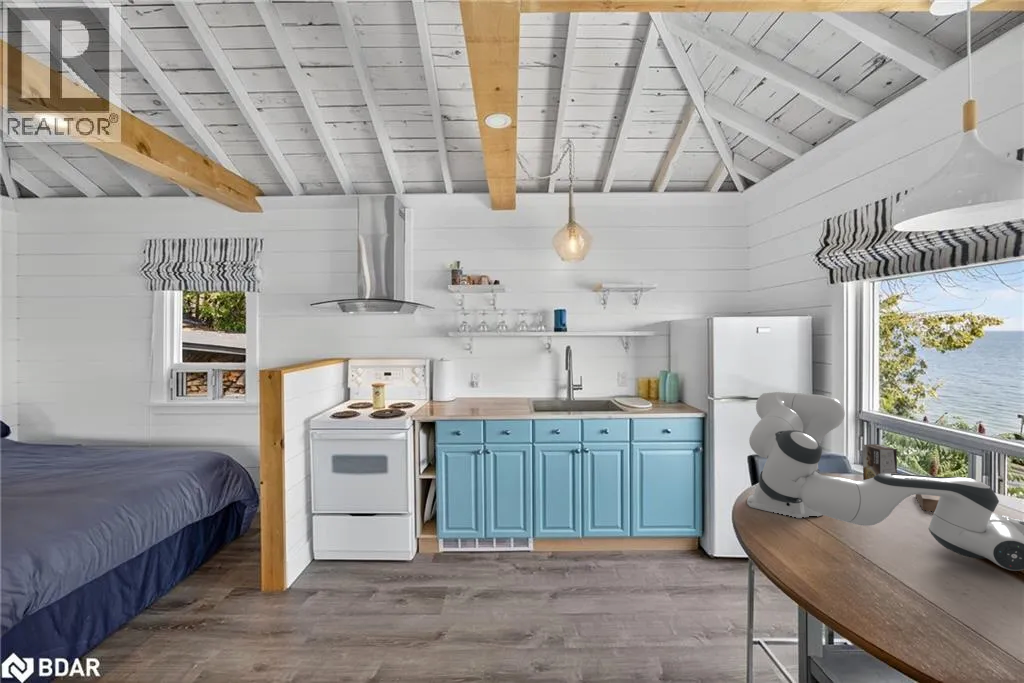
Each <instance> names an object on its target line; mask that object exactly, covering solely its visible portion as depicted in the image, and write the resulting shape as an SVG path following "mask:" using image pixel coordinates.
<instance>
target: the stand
mask: <svg viewBox="0 0 1024 683" xmlns="http://www.w3.org/2000/svg"><path fill="white" fill-rule="evenodd" d="M915 498H916V500H917V501H918V503H919V506H920V508H921V509H922V511H925V510H926V511H927V512H931V511H934V512H935V510H936V507H937V504H938V501H939V498H940V496H933V495H921V494H915ZM934 512H933V513H934Z"/></svg>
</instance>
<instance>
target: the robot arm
mask: <svg viewBox="0 0 1024 683" xmlns="http://www.w3.org/2000/svg"><path fill="white" fill-rule="evenodd" d="M755 410H756V414H757V415H758V417H759V419H760V420H759V421H758V422H757V423H756V425H755V426H754V428H753V429H752V431H751V433H750V436H749V438H748V440H749V442H748V443H749V446H750V448H751V450H752V451H753V452H754V453H755V454H756V455H757V456H759V457H761V458H763V459H766V461H765V463H764V466H763V469H762V471H761V472H760V473H759V479H758V483H757V484H756V486H755V488H754V492H753V493H752V494H750V495H749V496H748V497H747V500H746V503H747V504H746V505H747V506H748V507H749V508H753V509H756V510H761V511H764V512H769V513H773V512H774V514H777V513H779V514H778V515H781V514H783V516H786V515H789V516H788V517H790V516H792V517H791V518H794V517H796V518H795V519H803V518H802V517H804V518H810V517H809V516H817V517H820V516H821V517H822V516H825V517H828V518H831V519H834V520H837V521H838V520H839V521H842V522H845V523H849V524H852V525H856V526H857V525H858V526H865V527H866V526H867V527H868V526H874V525H878V524H880V523H881V522H883V521H884V520H886V519H887V518H888V517H890V515H891V513H892V512H893V511H894V510H895V509H896V508H897V506H899V505H900V503H902V502H903V501H904V500H906V499H907V498H909V497H910V496H916V494H921V495H933V496H940V498H939V501H938V504H937V507H936V510H935V512H933V514H932V518H931V521H930V523H929V527H928V530H929V533H930V535H931V536H932V537H933V538H934V539H935V541H936V542H938V543H939V544H940V545H941V546H942V547H944V548H945V549H947V550H949V551H952V552H953V553H956V554H957V555H960V556H964V557H968V558H972V559H987V560H989V561H991V562H993V563H994V564H996V565H997V566H998V567H1001V568H1003V569H1006V570H1009V571H1015V572H1016V571H1018V572H1019V571H1023V570H1024V519H1019V518H1012V517H1010V516H1009V515H1002V514H998V513H994V512H995V509H996V508H997V506H998V504H999V502H1000V501H999V498H998V496H997V495H996V494H997V493H995V492H994V490H993V488H992V487H991V486H990V485H988V484H987V483H984V482H982V481H979V480H978V479H974V478H970V477H965V476H964V477H963V476H962V477H961V476H933V475H922V474H921V475H919V474H908V473H897V474H892V473H883V474H878V475H876V476H875V477H873V478H870V479H866V480H863V479H861V480H858V479H857V480H856V479H850V478H846V477H841V476H833V475H826V474H821V473H820V469H819V462H820V460H821V457H822V454H823V453H822V452H823V448H822V446H821V444H822V443H821V442H822V441H823V440H824V438H825V437H826V436H827V434H829V433H830V432H831V431H833V430H834V429H837V428H838V427H840V425H842V423H843V422H844V420H845V408H844V406H843V405H842V403H841V402H840V401H839V399H837V398H835V397H830V396H827V395H822V394H814V393H813V394H812V393H796V392H784V391H783V392H781V391H773V392H764V393H762V394H761V395H760V396H758V398H757V400H756V403H755Z"/></svg>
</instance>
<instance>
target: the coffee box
mask: <svg viewBox="0 0 1024 683" xmlns="http://www.w3.org/2000/svg"><path fill="white" fill-rule="evenodd" d="M897 451H898V449H896V448H894V447H890V446H887V445H883V444H879V443H875V444H874V443H871V444H862V471H863V472H862V473H863V475H862V478H863V479H862V480H866V479H870V478H873V477H875V476H876V475H878V474H883V473H892V474H898V467H897V466H898V461H897V460H898V455H897V454H898V453H897Z"/></svg>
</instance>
